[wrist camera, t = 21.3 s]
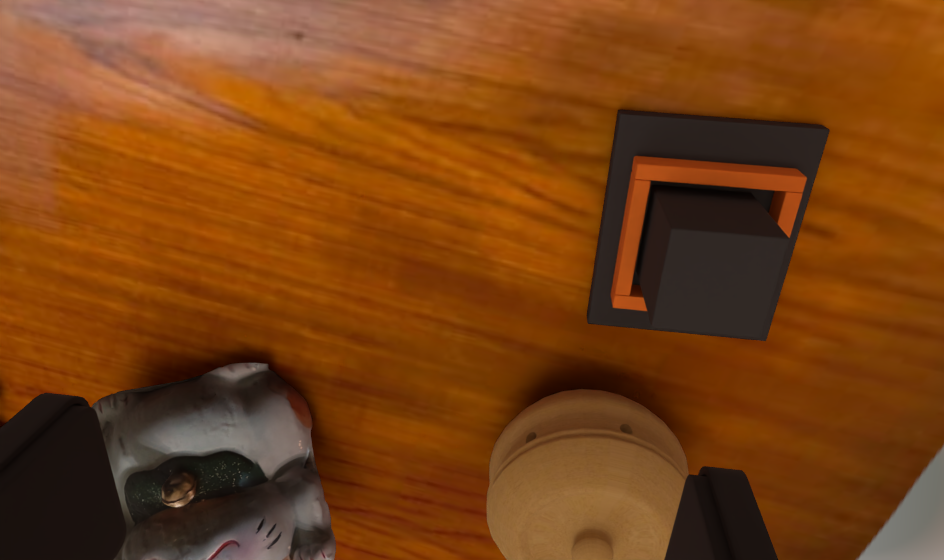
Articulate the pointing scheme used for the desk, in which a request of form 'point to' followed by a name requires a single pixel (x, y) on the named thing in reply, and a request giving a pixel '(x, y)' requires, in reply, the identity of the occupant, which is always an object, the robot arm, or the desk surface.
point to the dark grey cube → (709, 260)
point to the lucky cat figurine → (217, 469)
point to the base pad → (694, 166)
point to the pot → (585, 480)
